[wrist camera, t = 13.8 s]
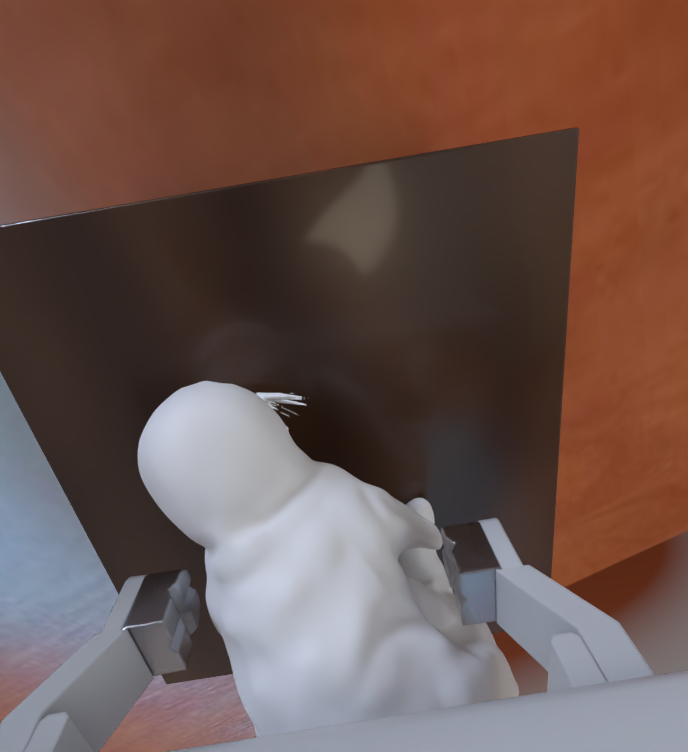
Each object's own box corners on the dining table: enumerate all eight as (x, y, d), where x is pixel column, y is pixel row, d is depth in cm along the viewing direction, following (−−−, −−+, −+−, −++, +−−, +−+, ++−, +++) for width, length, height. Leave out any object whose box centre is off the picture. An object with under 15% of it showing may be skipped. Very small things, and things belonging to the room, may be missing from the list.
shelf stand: (228, 474, 33) (165, 685, 19) (139, 203, 25) (-73, 237, 11) (452, 438, 33) (548, 625, 19) (435, 153, 25) (580, 126, 11)
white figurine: (347, 958, 10) (-116, 649, 7) (345, 628, 18) (134, 412, 15) (604, 866, 9) (191, 429, 5) (479, 555, 17) (281, 301, 13)
